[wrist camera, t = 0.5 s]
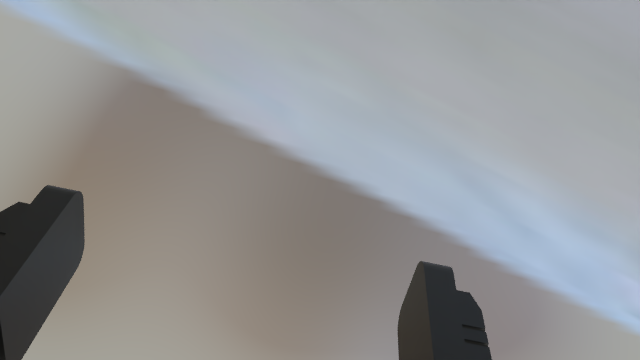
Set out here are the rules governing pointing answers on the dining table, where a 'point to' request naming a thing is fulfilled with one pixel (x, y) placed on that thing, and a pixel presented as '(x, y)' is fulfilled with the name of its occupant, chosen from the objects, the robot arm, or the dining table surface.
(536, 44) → the dining table surface
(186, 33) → the dining table surface
